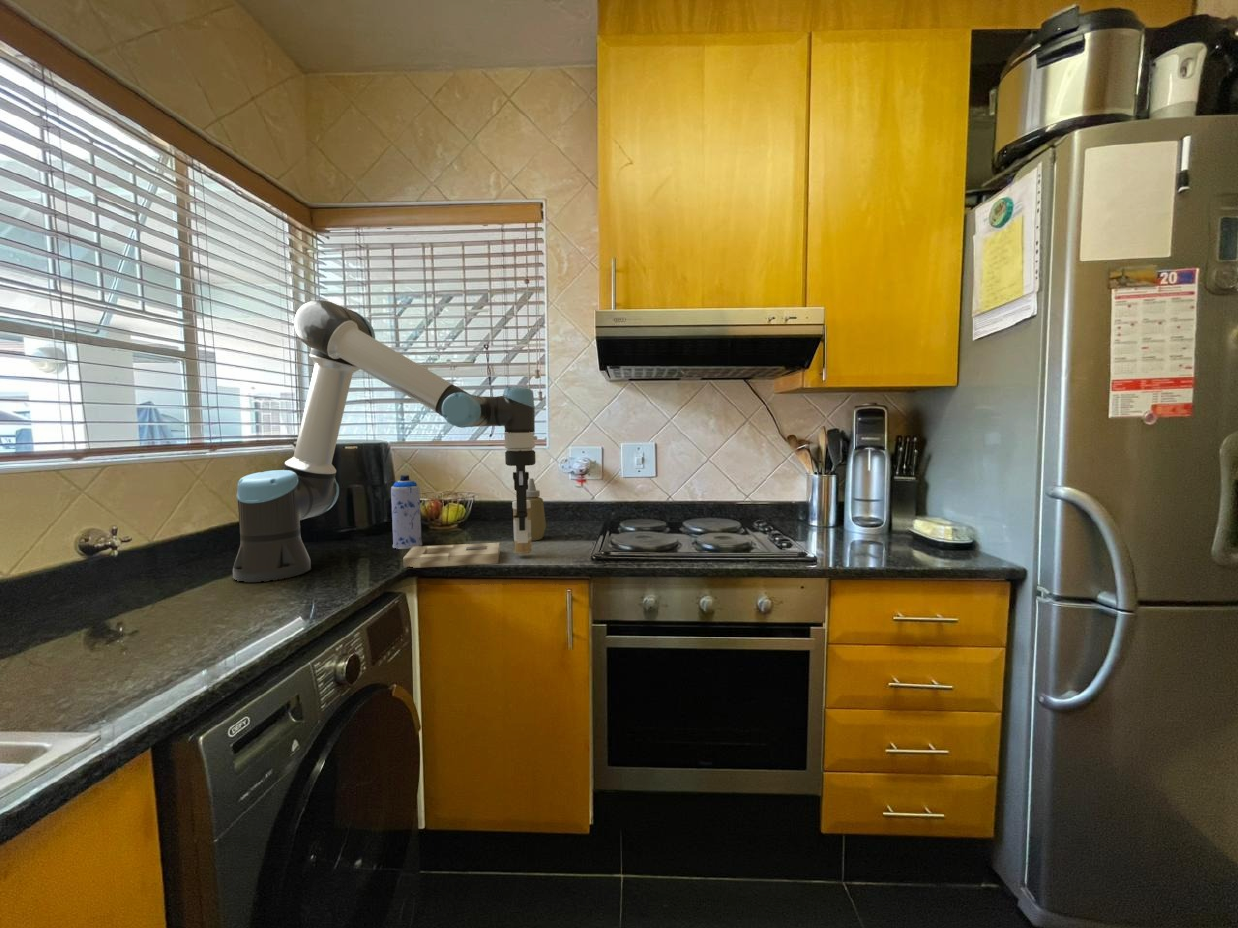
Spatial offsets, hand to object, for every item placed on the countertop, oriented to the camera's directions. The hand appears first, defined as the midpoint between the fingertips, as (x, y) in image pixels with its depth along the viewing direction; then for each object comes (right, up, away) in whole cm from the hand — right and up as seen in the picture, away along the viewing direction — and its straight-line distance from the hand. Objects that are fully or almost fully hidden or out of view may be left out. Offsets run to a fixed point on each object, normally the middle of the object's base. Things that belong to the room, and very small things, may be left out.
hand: (522, 540), depth 136 cm
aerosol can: (-35, -4, +14) cm, 38 cm away
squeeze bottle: (-1, -3, +21) cm, 22 cm away
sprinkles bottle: (0, -3, 0) cm, 3 cm away
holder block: (-17, -5, -2) cm, 18 cm away
